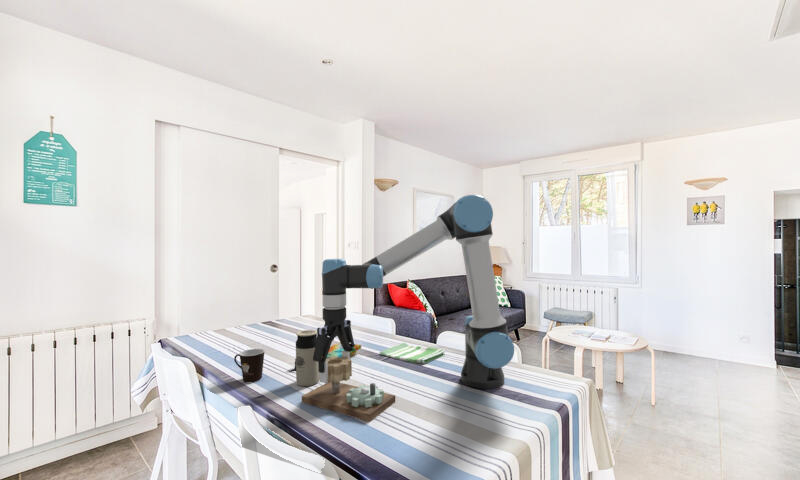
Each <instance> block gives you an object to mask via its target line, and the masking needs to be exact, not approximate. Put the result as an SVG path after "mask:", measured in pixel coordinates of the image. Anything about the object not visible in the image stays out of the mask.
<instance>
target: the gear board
mask: <svg viewBox="0 0 800 480" xmlns="http://www.w3.org/2000/svg"><path fill="white" fill-rule="evenodd" d="M351 388H355V389H356V388H359V386H357V385H352V384H347V383H342V382H340V383H334V382H328V383H323V384H322V385H320V386H319V387H317V388H314V389H312V390H311V391H309V392H306V393H305V394H303V395H301V403H303V404H306V405H309V406H312V407H316V408H319V409H324V410H327V411H331V412H334V413H338V414H342V415H344V416H349V417H352V418H356V419H359V420H363V421H366V422H370V423H371V422H372V421H373V420H374V419H375V418H377V417H378V416H379V415H381V414H383V412H384V411H387V409H388V408H389V407H391V406H392V405H393V404H395V403H396V395H394V394H390V393H385V392H384V398H382V402H381V403H380V404H377V403H375V404H372V407H365V406H360V405H359V406H358V407H354V406H352V402H349V403H347V399H346V394H347V393H349V390H350V389H351Z"/></svg>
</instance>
